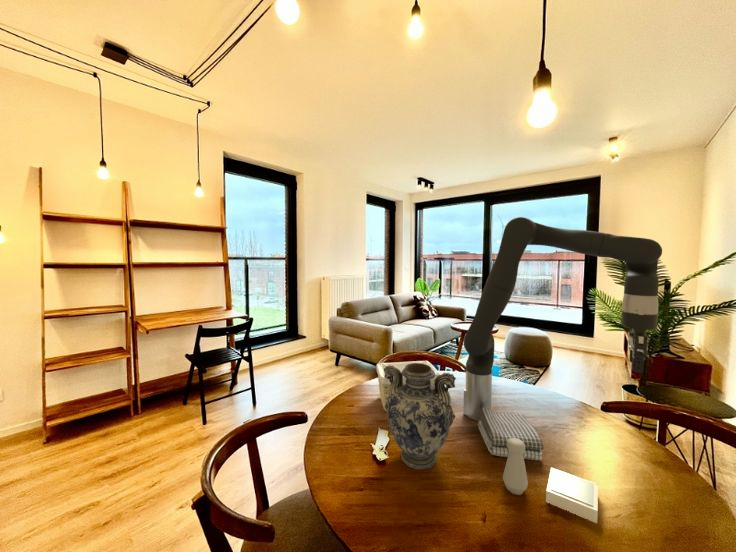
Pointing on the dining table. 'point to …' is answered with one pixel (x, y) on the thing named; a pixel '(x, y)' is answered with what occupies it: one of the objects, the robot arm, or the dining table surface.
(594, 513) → the pedestal
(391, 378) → the decorative vase
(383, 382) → the cream box
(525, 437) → the towel
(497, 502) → the dining table surface
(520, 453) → the salt shaker
